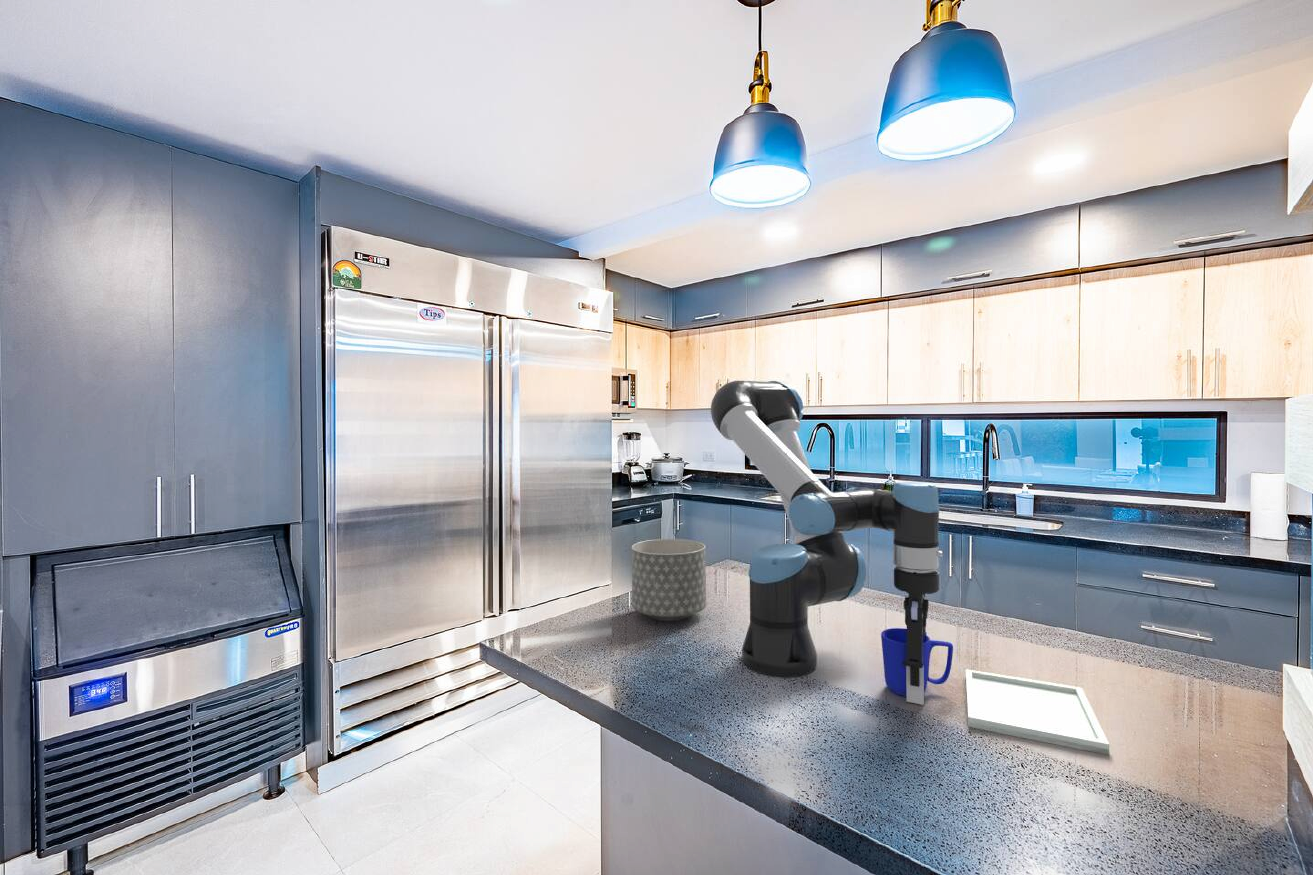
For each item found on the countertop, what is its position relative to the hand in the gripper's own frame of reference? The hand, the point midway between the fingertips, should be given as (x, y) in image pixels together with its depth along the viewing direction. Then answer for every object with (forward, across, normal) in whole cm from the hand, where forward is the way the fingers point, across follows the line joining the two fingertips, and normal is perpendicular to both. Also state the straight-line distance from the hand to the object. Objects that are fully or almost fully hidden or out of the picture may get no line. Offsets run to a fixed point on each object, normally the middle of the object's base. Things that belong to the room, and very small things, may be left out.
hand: (916, 689), depth 104 cm
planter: (0, +18, +59) cm, 62 cm away
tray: (0, 0, -17) cm, 17 cm away
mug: (0, 0, 0) cm, 0 cm away
